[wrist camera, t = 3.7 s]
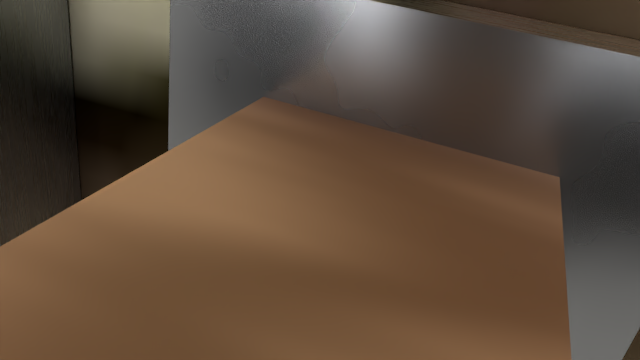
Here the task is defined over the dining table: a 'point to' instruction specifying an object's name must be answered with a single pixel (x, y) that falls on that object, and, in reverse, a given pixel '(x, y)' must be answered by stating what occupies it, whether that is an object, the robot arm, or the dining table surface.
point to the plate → (36, 115)
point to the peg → (296, 253)
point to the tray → (449, 109)
